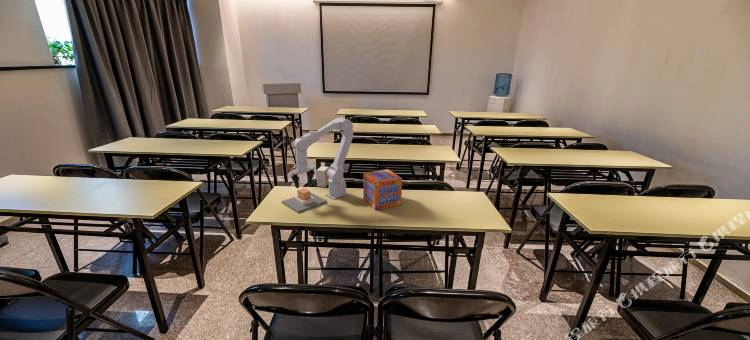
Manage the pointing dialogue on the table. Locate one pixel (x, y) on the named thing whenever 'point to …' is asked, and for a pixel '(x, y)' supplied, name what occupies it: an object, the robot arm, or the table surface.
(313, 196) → the keyed socket
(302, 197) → the keyed peg
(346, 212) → the table surface
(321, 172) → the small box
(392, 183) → the game box
